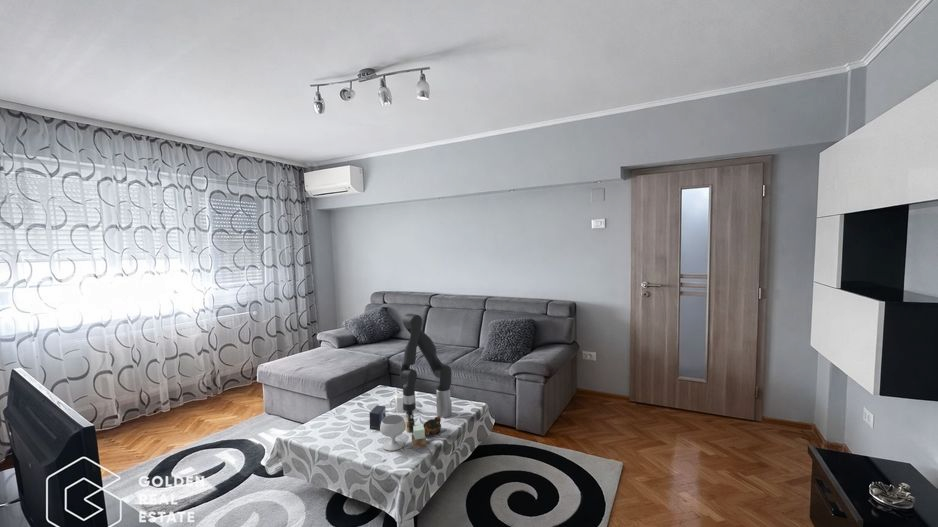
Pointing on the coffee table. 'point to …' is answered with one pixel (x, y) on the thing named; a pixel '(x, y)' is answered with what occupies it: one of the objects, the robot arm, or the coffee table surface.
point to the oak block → (408, 424)
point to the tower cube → (419, 432)
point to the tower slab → (418, 442)
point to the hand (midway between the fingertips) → (410, 427)
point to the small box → (377, 417)
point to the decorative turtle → (432, 426)
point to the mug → (398, 402)
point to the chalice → (393, 431)
